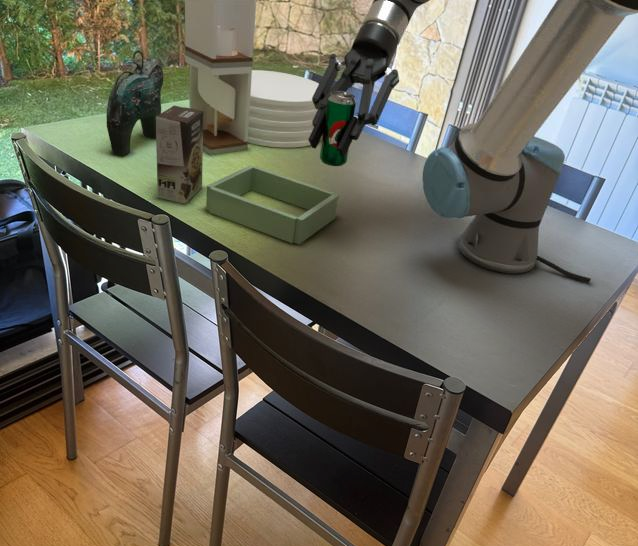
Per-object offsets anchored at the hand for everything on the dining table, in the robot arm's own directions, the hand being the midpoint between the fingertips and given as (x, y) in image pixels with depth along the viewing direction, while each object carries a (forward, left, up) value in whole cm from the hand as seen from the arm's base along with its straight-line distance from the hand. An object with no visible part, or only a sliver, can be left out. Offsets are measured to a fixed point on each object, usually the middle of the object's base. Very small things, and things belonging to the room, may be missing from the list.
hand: (326, 148), depth 106 cm
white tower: (+42, -26, -17) cm, 53 cm away
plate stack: (+39, -47, -17) cm, 64 cm away
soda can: (0, -4, -4) cm, 5 cm away
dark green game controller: (+54, -12, -17) cm, 58 cm away
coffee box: (+30, +3, -17) cm, 35 cm away
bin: (+11, -2, -17) cm, 21 cm away
